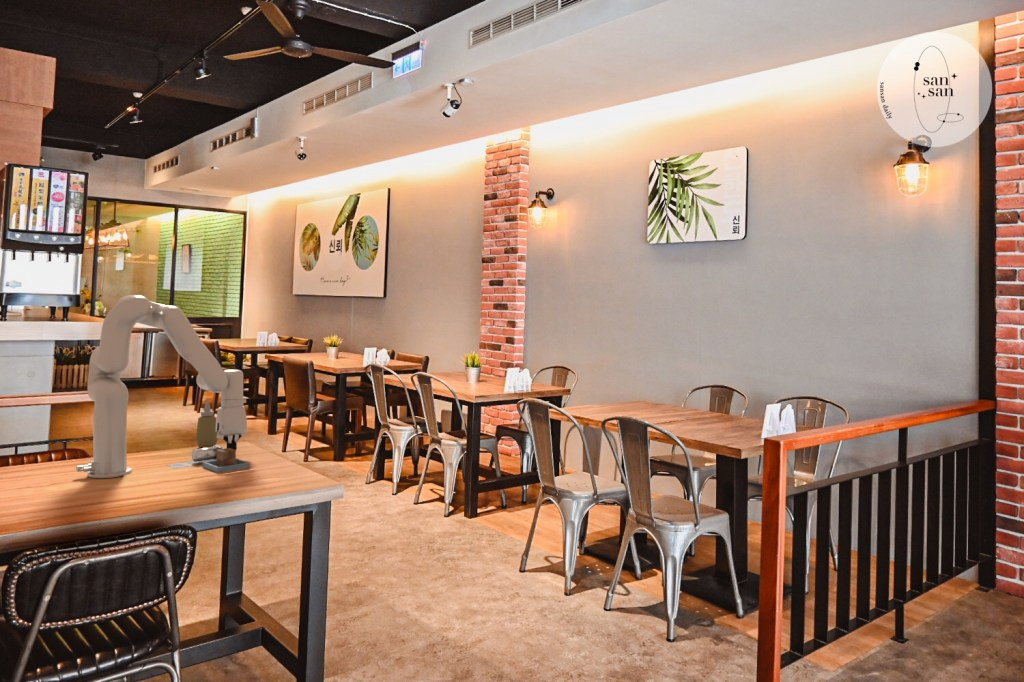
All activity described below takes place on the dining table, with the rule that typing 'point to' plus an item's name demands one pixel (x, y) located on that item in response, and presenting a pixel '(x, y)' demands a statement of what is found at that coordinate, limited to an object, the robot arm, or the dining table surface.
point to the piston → (205, 453)
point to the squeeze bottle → (206, 428)
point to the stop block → (226, 457)
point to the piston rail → (188, 464)
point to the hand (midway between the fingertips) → (231, 453)
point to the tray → (213, 466)
